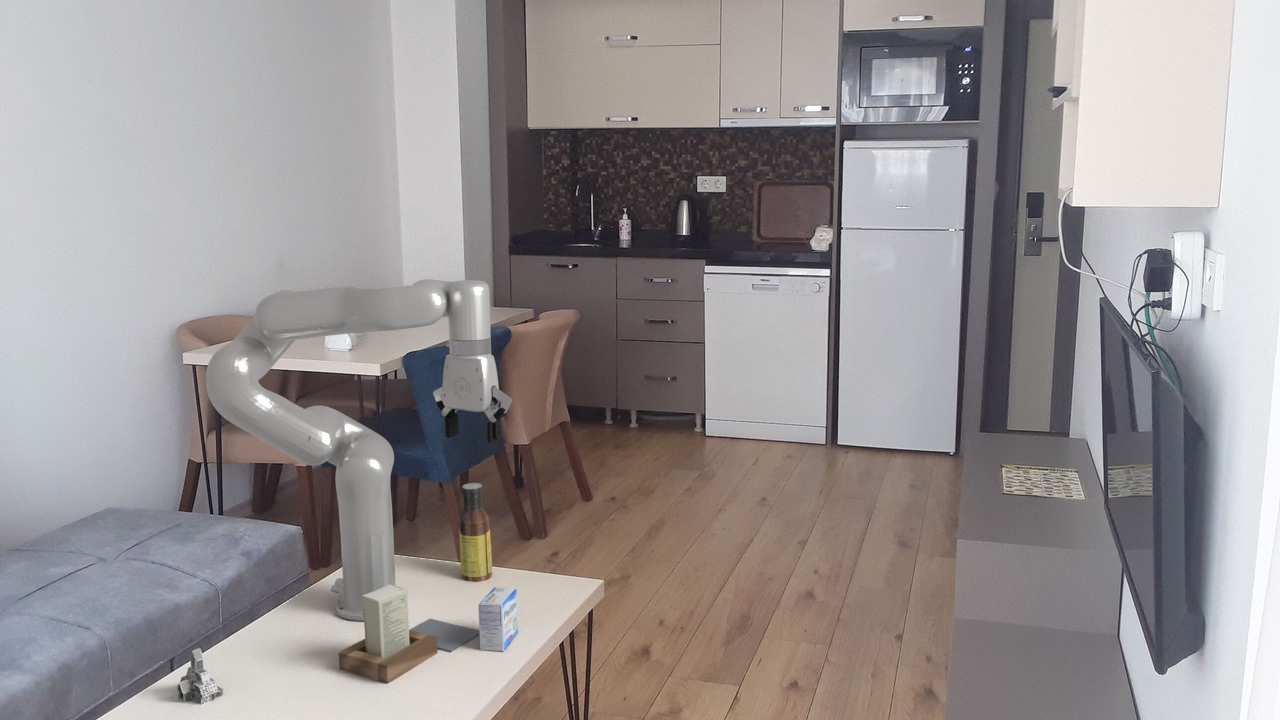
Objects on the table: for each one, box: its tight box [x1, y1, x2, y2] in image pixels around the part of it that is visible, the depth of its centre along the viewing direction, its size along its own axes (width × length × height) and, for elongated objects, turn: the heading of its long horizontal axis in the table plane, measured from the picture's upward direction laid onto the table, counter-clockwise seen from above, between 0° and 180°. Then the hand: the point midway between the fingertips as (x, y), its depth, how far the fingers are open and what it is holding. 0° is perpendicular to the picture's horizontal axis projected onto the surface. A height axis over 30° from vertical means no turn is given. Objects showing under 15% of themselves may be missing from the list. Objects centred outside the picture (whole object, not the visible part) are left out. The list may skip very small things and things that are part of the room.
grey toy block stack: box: [177, 647, 225, 705], centre depth 164 cm, size 9×9×8 cm
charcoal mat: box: [409, 618, 480, 653], centre depth 186 cm, size 12×9×1 cm
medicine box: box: [478, 586, 519, 652], centre depth 183 cm, size 8×4×9 cm, turn 168°
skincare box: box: [363, 584, 410, 658], centre depth 176 cm, size 6×4×12 cm
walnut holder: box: [338, 629, 439, 684], centre depth 176 cm, size 10×12×3 cm
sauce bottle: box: [458, 482, 493, 583], centre depth 211 cm, size 7×6×20 cm
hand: (473, 438), depth 195 cm, fingers open, 9 cm apart
